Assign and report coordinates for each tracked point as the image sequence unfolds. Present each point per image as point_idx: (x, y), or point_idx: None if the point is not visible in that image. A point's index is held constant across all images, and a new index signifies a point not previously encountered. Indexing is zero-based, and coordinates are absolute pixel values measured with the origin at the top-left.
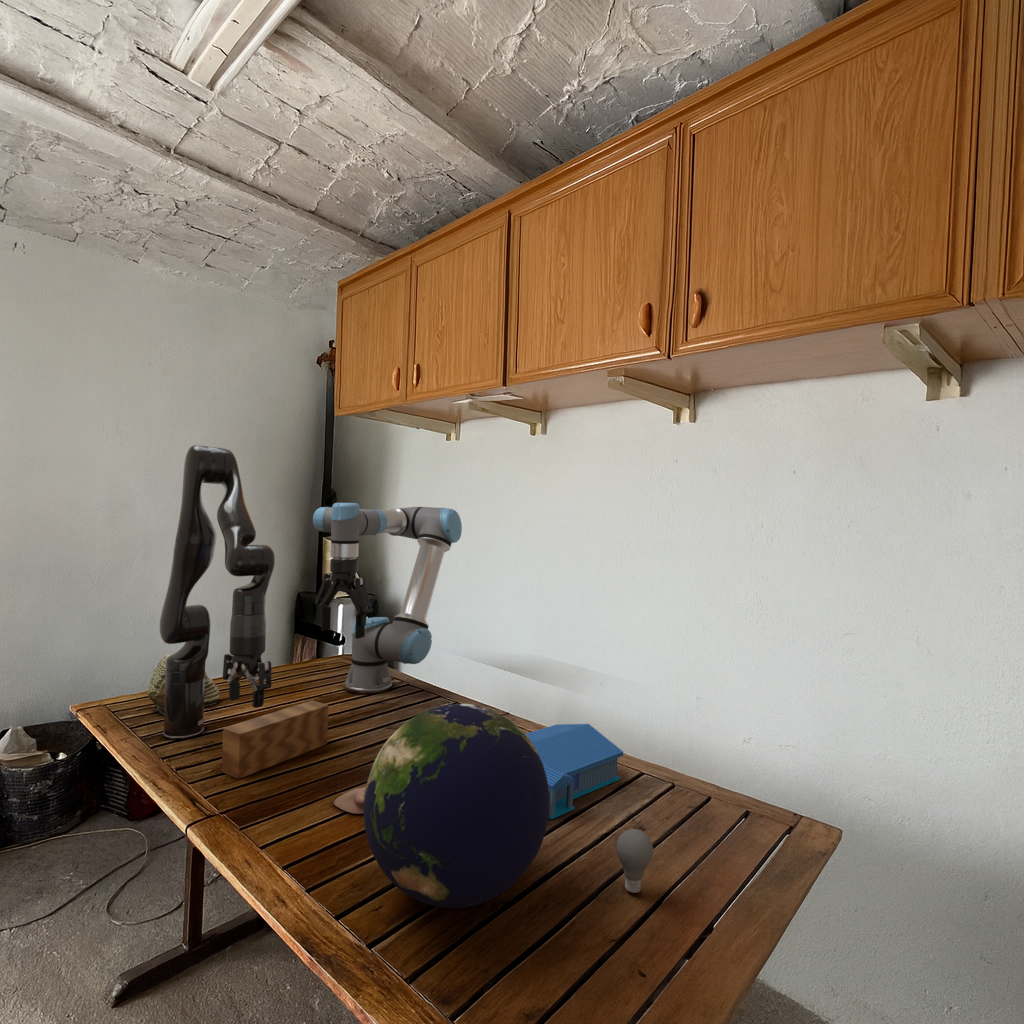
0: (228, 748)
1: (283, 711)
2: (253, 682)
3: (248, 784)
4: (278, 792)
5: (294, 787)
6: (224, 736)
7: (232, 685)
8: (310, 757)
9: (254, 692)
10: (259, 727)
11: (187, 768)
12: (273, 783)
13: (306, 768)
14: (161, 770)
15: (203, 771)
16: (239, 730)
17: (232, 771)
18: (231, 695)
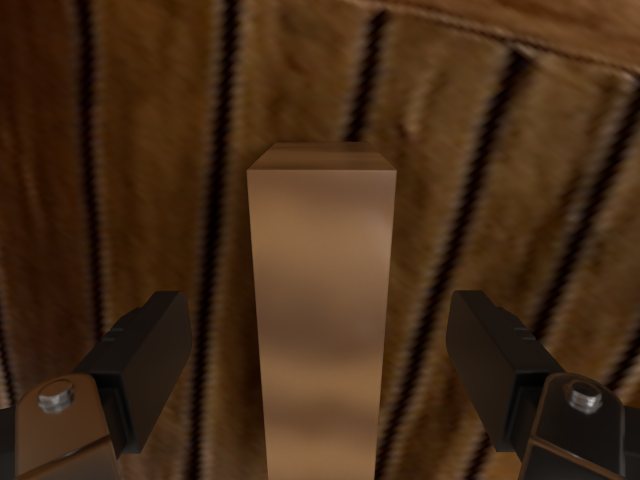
0: (336, 154)
1: (351, 448)
2: (40, 463)
3: (216, 138)
4: (97, 160)
5: (97, 210)
6: (374, 162)
7: (508, 376)
8: (246, 358)
9: (104, 367)
10: (255, 281)
11: (493, 86)
12: (166, 190)
13: (189, 308)
14: (564, 12)
15: (423, 107)
16: (294, 199)
17: (306, 143)
18: (468, 309)
